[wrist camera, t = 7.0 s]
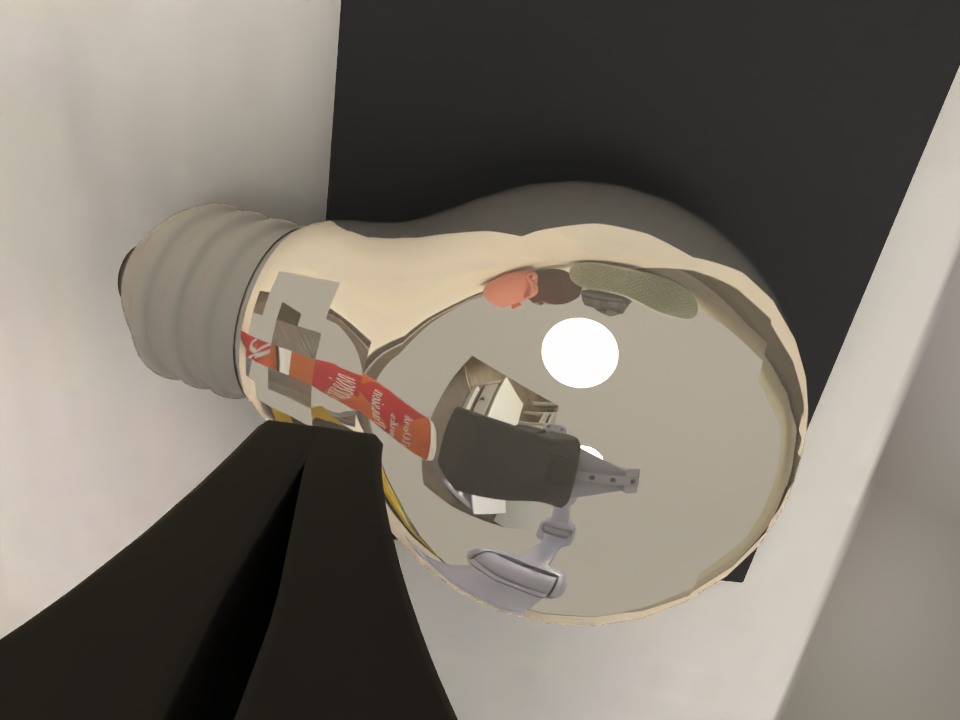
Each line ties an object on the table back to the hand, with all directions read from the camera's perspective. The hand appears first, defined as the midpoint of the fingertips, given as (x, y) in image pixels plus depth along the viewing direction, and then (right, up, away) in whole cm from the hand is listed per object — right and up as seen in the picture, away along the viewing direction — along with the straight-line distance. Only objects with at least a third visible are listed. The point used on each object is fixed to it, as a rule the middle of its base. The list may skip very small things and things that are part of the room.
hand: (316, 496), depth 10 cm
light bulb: (-5, +3, +6) cm, 8 cm away
